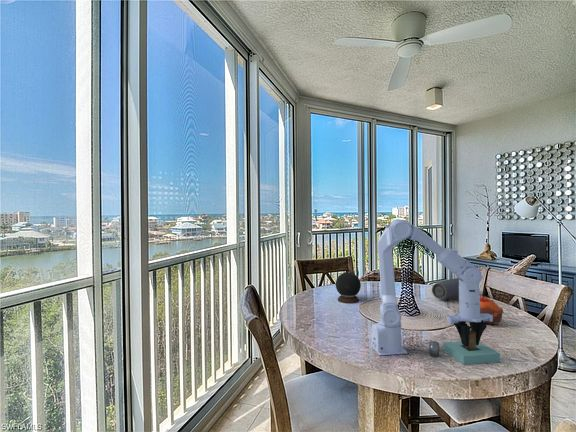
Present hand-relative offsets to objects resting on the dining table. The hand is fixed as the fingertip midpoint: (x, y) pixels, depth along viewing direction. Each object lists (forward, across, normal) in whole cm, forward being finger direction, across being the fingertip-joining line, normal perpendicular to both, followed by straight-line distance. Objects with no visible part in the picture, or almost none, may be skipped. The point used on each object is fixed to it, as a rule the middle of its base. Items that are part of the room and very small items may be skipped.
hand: (470, 344), depth 97 cm
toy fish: (+4, +26, +25) cm, 36 cm away
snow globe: (+4, -19, +67) cm, 70 cm away
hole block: (+3, 0, 0) cm, 3 cm away
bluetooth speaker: (+4, +36, +61) cm, 71 cm away
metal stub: (+3, -11, +2) cm, 12 cm away
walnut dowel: (+3, 0, 0) cm, 3 cm away
